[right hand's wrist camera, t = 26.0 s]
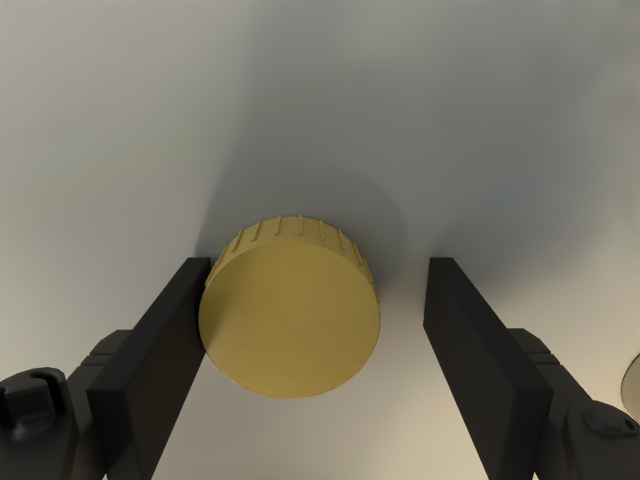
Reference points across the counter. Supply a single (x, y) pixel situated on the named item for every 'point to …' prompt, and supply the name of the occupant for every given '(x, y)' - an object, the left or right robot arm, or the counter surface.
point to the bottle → (632, 390)
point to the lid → (289, 308)
